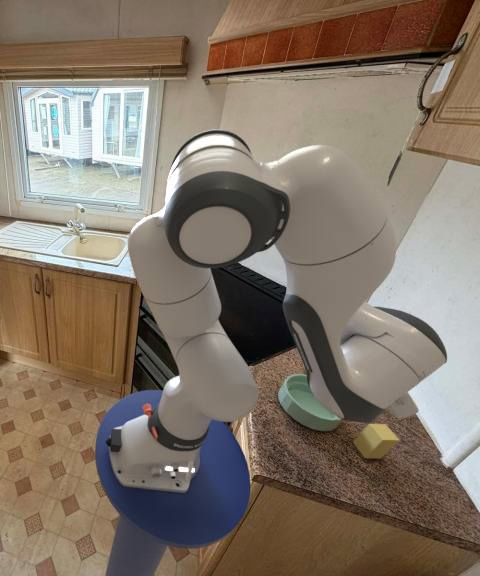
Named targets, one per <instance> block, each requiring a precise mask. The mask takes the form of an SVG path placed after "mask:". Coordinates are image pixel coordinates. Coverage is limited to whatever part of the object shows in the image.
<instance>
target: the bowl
mask: <svg viewBox="0 0 480 576" xmlns="http://www.w3.org/2000/svg"><path fill="white" fill-rule="evenodd" d="M277 393H278V394H277V399H278V402H279V404H280V406H281V407H282V408H283V410H284V411H285V412H286V413H287V414H288V415H289V416H290V417H291V418H292V419H293V420H295V421H296V422H298V423H299V424H301V426H304V427H307V428H309V429H312V430H313V431H320V432H332V431H334V430H335V429H337V428H338V427H339V426H340V425H341V423H342V422H343V421H344V420H342V419H340V418H339V417H337V416H336V415H334V414H333V413H331V412H330V411H329V410H327V409H326V408H325V407H324V406H323V405H322V404H321V403H320V402H319V401H318V400H317V399H316V397H315V396H314V394H313V393H312V391H311V389H310V388H309V386H308V382H307V375H306V374H303V373H294V374H291V375H289V376H287V377H286V378H285V380H284V381H283V383H282V384H281V386H280V388H279V390H278V391H277Z"/></svg>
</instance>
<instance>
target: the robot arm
mask: <svg viewBox="0 0 480 576" xmlns="http://www.w3.org/2000/svg"><path fill="white" fill-rule="evenodd" d="M169 169H170V170H169V174H168V178H167V182H166V187H165V192H164V198H165V202H164V206H163V208H161V210H160V211H158V212H156V213H153V214H150V215H147V216H146V217H144V218H143V219H141V220H140V221H139V222H138V223H136V224H135V225H134V226H133V227H132V229H131V231H130V233H129V235H128V239H127V250H128V255H129V261H130V263H131V267H132V270H133V274H134V277H135V280H136V282H137V284H138V287H139V289H140V291H141V294H142V296H143V298H144V300H145V303H146V304H147V307H148V308H149V310H150V312H151V314H152V316H153V318H154V320H155V322H156V325H157V327H158V329H159V330H160V331H161V334H162V336H163V337H164V340H165V341H166V343H167V346H168V348H169V350H170V352H171V355H172V357H173V359H174V361H175V363H176V364H175V365H176V367H177V369H178V374H179V375H176V376H174V377H172V378H170V379H169V380H168V381H167V382H166V383H165V384H164V387H163V390H162V391H163V394H162V397H161V401H160V402H159V403H158V405H157V406H156V407H155V408H154V409H153V410H152V409H151V405H150V404H145V405H143V410H144V415H142V416H140V417H137V418H135V419H133V420H130V421H128V422H126V423H125V424H124V425H123V426H121V427H117V428H114V429H112V430H111V435H110V438H108V439H107V440H106V444H107V445H108V446H109V455H110V461H111V465H112V469H113V471H114V474H115V476H116V478H117V479H118V481H119V482H120V483H121V485H123V486H125V487H133V488H142V489H151V490H160V491H169V492H178V493H186V492H187V491H188V488H189V484H190V480H191V479H192V478H193V476H194V475H195V474H196V473H197V471H198V469H199V465H200V448H201V446H202V445H203V443H204V441H205V439H206V437H207V434H208V431H209V424H210V422H211V420H216V421H220V422H224V423H234V422H236V421H240V420H243V419H244V418H245V417H247V416H248V415H250V414H251V413H252V412H253V410H254V409H255V408H256V406H257V405H258V403H259V402H258V401H259V400H260V391H259V388H258V386H257V383H256V381H255V377H254V376H253V373H252V370H251V369H250V367H249V366H248V363H247V362H246V361H245V360H244V358H243V357H242V355H241V354H240V352H239V351H238V349H237V348H236V346H235V345H234V343H233V342H232V340H231V338H229V335H227V332H226V331H225V330H224V328H223V326H222V324H221V322H220V320H219V318H220V315H221V312H222V303H221V298H220V297H219V293H218V290H217V286H216V283H215V279H214V276H213V273H212V270H211V269H217V268H223V267H229V266H232V265H235V264H238V263H241V262H243V261H245V260H247V259H250V257H252V256H254V255H255V254H257V253H261V252H264V251H267V250H269V249H270V248H271V247H272V246H274V247H275V249H276V250H277V252H278V253H279V255H280V256H281V258H282V260H283V263H284V266H285V272H286V288H285V289H286V291H285V295H284V298H283V301H282V311H283V313H284V318H285V321H286V324H287V326H288V329H289V332H290V334H291V337H292V339H293V342H294V345H295V347H296V349H297V351H298V354H299V356H300V360H301V361H302V365H303V367H304V369H305V372H306V374H305V375H307V382H308V386H309V388H310V389H311V391H312V393H313V394H314V396H315V397H316V399H317V400H318V401H319V402H320V403H321V404H322V405H323V406H324V407H325V408H326V409H327V410H329V411H330V412H331V413H333V414H334V415H336V416H337V417H339V418H340V419H342V420H343V421H348V422H354V423H372V422H373V421H374V420H376V419H377V418H378V417H379V416H380V415H381V414H382V413H383V412H384V411H386V409H387V410H388V412H390V413H391V414H392V415H393V417H395V418H396V419H398V420H399V419H401V420H402V419H405V418H408V417H411V416H414V415H417V413H419V412H420V411H419V407H418V405H417V404H416V402H415V400H414V399H413V398H412V396H411V394H410V393H409V392H410V391H411V390H413V389H414V388H415V387H417V386H418V385H419V384H420V383H421V382H422V381H424V380H426V379H427V378H428V377H430V376H431V375H432V374H433V373H435V372H436V371H437V370H439V369H440V368H441V367H442V366H444V364H446V363H447V362H448V352H447V349H446V347H445V344H444V342H443V341H442V340H443V339H441V337H440V335H439V334H438V333H437V331H436V330H435V329H434V327H432V326H431V325H430V324H428V323H427V322H426V321H424V320H422V319H421V318H419V317H417V316H415V315H413V314H411V313H410V312H409V313H408V312H406V311H403V310H399V309H395V308H391V307H390V308H389V307H384V306H383V307H382V306H374V305H371V304H370V303H368V302H367V300H368V299H369V298H370V297H371V296H372V295H373V294H374V293H375V292H376V291H377V290H378V288H379V287H380V286H381V285H382V284H383V283H384V282H385V281H386V279H387V278H388V277H389V275H390V273H391V271H392V270H393V268H394V265H395V263H396V262H395V261H396V257H397V255H396V254H397V238H396V233H395V230H394V228H393V225H392V223H391V220H390V219H389V216H388V214H387V212H386V209H385V207H384V204H383V203H382V201H381V199H380V197H379V195H378V194H377V192H376V190H375V189H374V187H373V185H372V183H371V182H370V180H369V179H368V178H367V176H366V175H365V173H364V172H363V171H362V169H361V168H360V167H359V165H358V164H357V163H356V162H355V161H354V160H353V159H352V158H351V156H350V155H349V154H348V153H347V152H346V151H344V150H343V149H342V148H340V147H338V146H335V145H331V144H312V145H307V146H304V147H300V148H297V149H295V150H293V151H291V152H288V153H287V154H285V155H284V156H282V157H281V158H278V160H273V161H271V162H262V161H260V162H259V163H258V162H256V160H255V159H254V156H253V154H252V152H251V149H250V147H249V145H248V144H247V142H246V141H245V140H244V139H243V138H242V137H240V136H239V135H238V134H236V133H234V132H232V131H230V130H227V129H222V128H212V129H211V128H210V129H206V130H202V131H199V132H198V133H196V134H194V135H192V136H191V137H190V138H188V140H185V142H184V143H183V144H182V145H181V146H180V148H179V149H178V151H177V152H176V154H175V156H174V158H173V160H172V162H171V165H170V168H169ZM269 241H270V242H269ZM118 471H120V472H121V473H120V474H119V473H118ZM143 482H144V483H143ZM176 484H177V485H179V487H177V486H176Z"/></svg>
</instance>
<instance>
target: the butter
mask: <svg viewBox="0 0 480 576" xmlns="http://www.w3.org/2000/svg"><path fill="white" fill-rule="evenodd" d="M400 441H401V440H400V438H399V437H397V435H396V434H395V433H394V431H392V430H391V428H390V427H389V426H388V425H387V424H386V423H369V424H367V426H366V427H365V428H364V429H363V430H362V431H361V432H360V434H359V435H358V436H356V438H354V440H353V441H352V443H353V445H354V446H355V447H356V449H357V450H358V451H359V453H360V454H361V455H362V457H363V458H364V459H377V460H378V459H382V458H383V457H384V456H385V455H386V454H388V452H389V451H391V450H392V449H393V448H394V447H395V446H396V445H397V444H398V443H399V442H400Z"/></svg>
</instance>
